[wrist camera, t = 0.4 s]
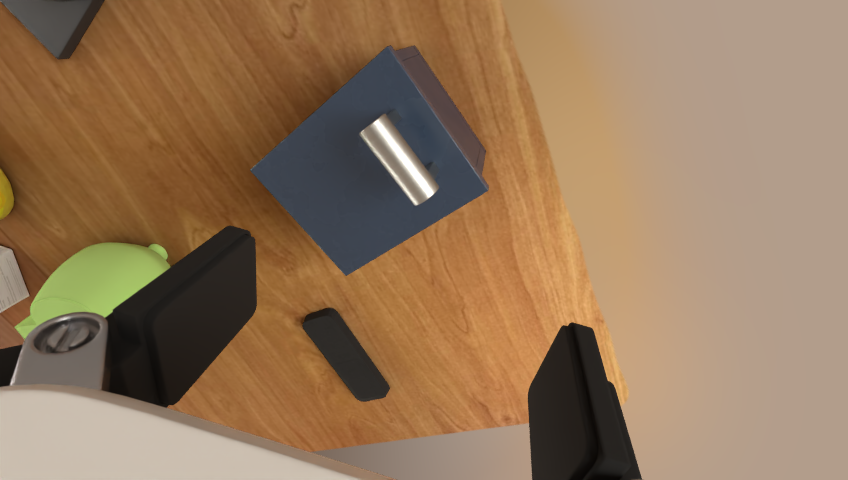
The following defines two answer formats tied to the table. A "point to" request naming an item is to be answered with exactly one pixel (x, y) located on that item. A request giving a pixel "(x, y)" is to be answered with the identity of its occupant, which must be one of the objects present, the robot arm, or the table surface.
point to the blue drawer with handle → (370, 166)
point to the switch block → (55, 21)
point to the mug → (5, 196)
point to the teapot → (95, 281)
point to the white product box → (10, 280)
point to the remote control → (345, 354)
